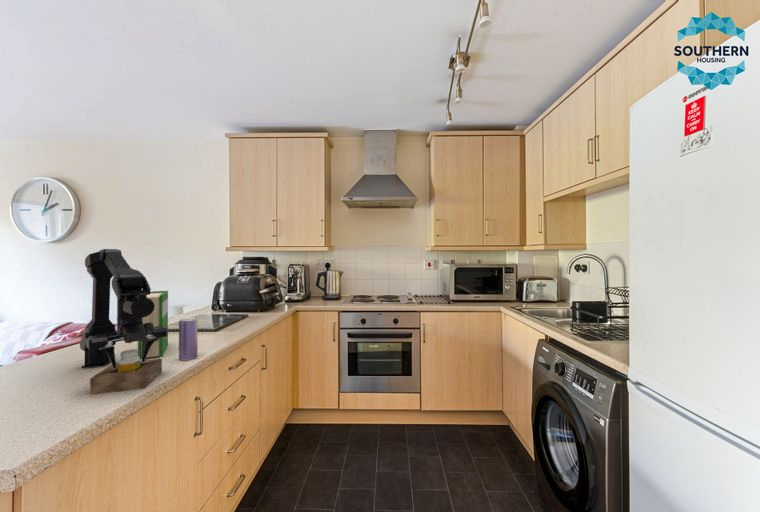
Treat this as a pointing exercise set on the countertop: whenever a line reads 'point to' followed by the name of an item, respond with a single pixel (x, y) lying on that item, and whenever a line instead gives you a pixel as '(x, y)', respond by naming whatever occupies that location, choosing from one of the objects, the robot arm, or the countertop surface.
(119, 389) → the well block
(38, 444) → the countertop surface
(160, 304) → the hardback book
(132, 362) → the supplement bottle
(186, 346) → the beverage can
